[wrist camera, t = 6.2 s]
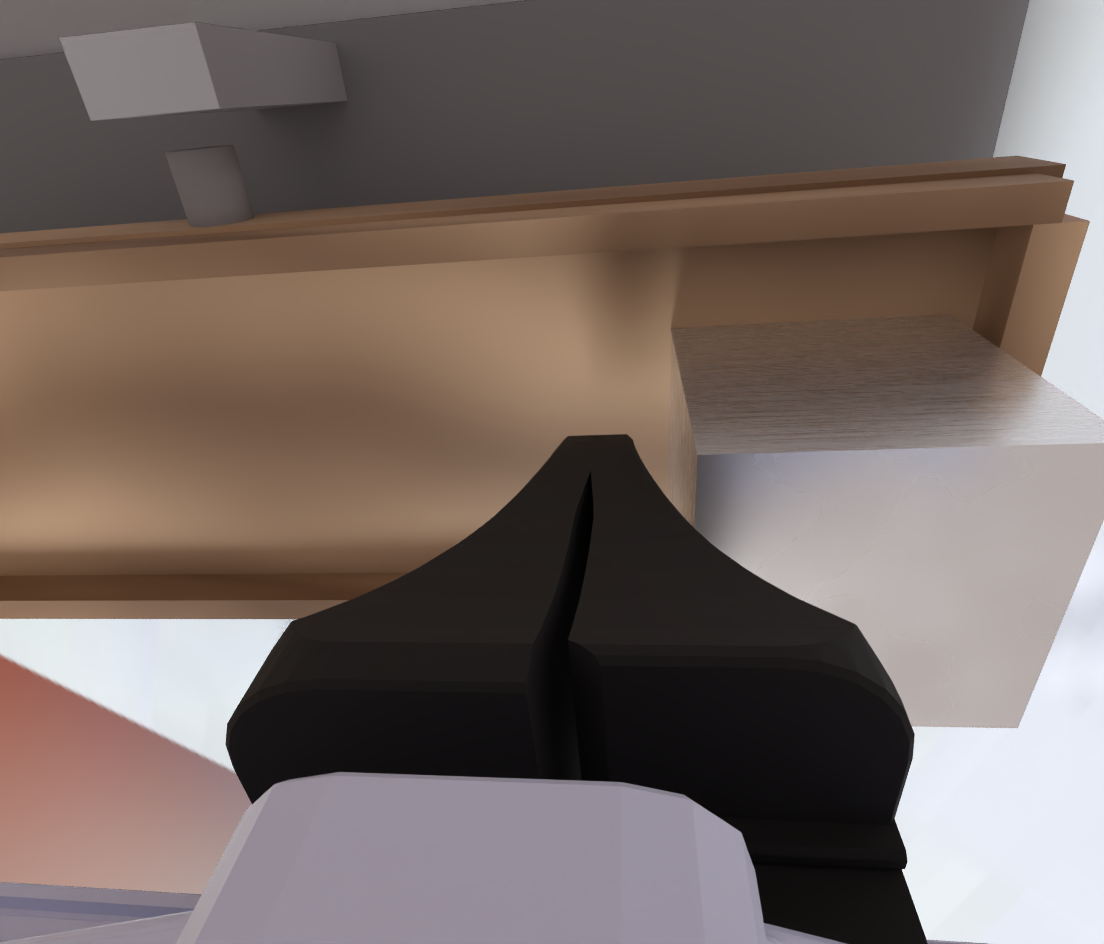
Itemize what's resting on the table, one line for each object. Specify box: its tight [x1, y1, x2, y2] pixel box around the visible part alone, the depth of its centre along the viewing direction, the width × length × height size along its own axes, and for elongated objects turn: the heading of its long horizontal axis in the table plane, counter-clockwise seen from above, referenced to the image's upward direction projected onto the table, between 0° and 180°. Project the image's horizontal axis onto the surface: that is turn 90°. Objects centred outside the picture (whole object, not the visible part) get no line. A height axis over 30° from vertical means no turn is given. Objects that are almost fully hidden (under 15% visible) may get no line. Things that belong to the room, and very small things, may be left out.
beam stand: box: [0, 0, 1029, 233], centre depth 17 cm, size 16×33×6 cm, turn 95°
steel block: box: [669, 314, 1104, 728], centre depth 11 cm, size 5×5×5 cm
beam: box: [0, 145, 1090, 619], centre depth 15 cm, size 12×30×2 cm, turn 95°
